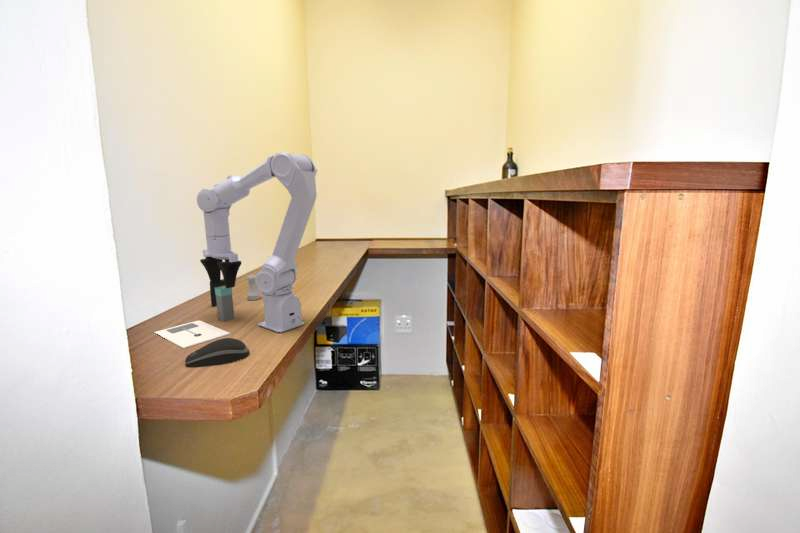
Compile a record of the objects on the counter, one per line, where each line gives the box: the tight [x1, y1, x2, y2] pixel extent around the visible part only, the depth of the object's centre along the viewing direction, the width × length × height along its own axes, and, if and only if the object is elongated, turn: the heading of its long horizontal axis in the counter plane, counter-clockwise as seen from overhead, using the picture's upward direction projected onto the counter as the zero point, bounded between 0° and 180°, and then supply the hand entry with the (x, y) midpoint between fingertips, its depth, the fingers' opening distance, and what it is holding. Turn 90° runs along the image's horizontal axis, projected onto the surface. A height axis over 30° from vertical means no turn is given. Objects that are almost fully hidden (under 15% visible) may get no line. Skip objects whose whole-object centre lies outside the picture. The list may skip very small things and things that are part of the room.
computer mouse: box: [184, 337, 250, 368], centre depth 80 cm, size 7×12×4 cm, turn 115°
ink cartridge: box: [209, 278, 225, 307], centre depth 117 cm, size 5×2×8 cm, turn 106°
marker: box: [215, 286, 235, 322], centre depth 104 cm, size 3×3×9 cm
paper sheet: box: [153, 319, 231, 350], centre depth 94 cm, size 16×11×1 cm
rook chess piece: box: [246, 273, 262, 301], centre depth 124 cm, size 4×4×8 cm
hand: (222, 285), depth 103 cm, fingers open, 7 cm apart
